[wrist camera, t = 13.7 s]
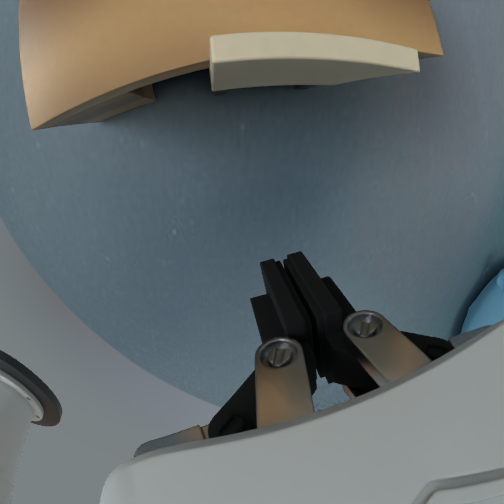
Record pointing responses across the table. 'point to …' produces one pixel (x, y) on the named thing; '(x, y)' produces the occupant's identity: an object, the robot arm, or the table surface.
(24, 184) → the table surface
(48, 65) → the desk
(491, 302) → the teapot
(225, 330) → the table surface
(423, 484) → the robot arm
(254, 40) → the chair
